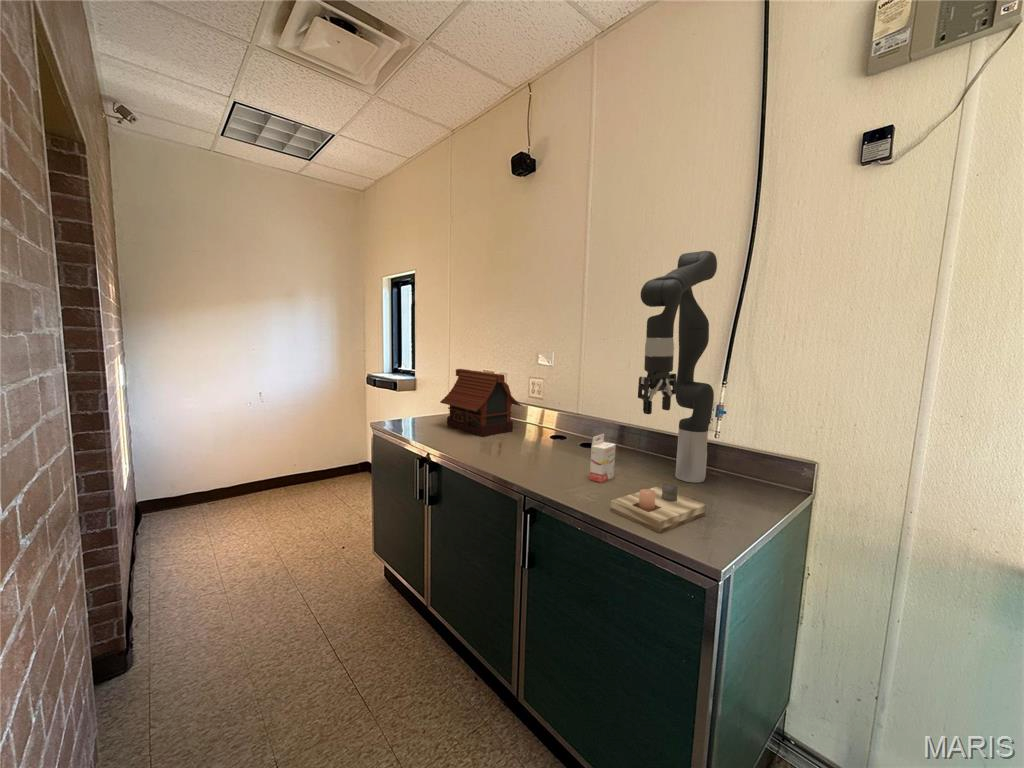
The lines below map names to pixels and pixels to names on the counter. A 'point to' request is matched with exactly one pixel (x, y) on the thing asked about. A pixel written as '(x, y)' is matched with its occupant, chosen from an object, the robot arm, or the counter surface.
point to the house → (480, 403)
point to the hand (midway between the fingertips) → (656, 411)
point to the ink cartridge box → (602, 460)
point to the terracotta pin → (647, 500)
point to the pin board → (660, 509)
